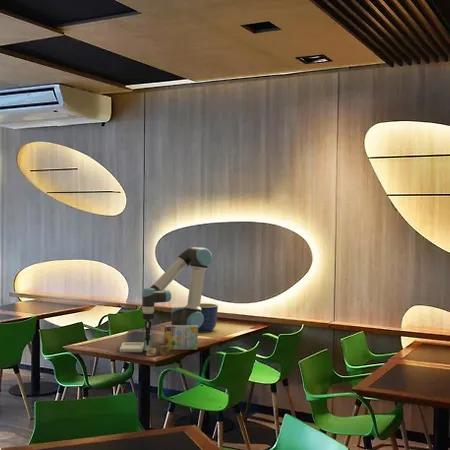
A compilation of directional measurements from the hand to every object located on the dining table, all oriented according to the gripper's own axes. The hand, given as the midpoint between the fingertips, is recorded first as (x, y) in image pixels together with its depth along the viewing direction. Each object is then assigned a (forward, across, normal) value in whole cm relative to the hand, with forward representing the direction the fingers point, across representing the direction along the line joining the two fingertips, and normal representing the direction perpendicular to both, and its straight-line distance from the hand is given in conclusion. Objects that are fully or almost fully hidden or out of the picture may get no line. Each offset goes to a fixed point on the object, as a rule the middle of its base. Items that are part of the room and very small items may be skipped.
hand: (147, 349), depth 389 cm
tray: (0, -3, -10) cm, 10 cm away
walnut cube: (0, +12, +11) cm, 16 cm away
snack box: (+1, -3, +21) cm, 21 cm away
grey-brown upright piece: (0, -17, +11) cm, 20 cm away
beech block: (0, +15, +3) cm, 15 cm away
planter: (+1, -68, +38) cm, 78 cm away
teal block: (0, 0, 0) cm, 0 cm away
